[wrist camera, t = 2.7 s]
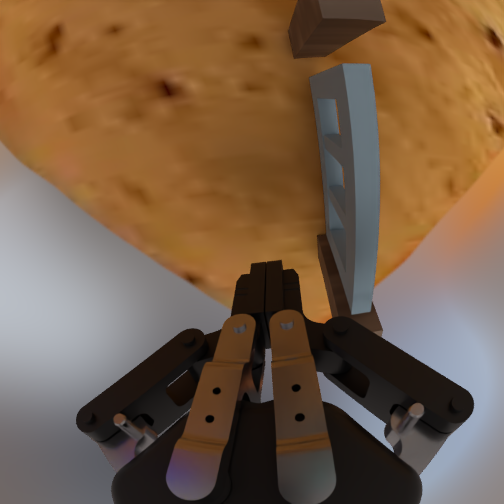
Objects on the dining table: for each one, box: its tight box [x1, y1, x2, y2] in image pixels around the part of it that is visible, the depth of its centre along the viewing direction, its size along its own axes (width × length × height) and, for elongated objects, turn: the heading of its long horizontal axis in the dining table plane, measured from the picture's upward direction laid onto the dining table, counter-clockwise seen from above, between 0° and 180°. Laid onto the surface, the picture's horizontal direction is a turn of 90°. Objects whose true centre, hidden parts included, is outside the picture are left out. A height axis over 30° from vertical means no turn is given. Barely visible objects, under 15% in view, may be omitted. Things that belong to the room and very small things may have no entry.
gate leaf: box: [309, 64, 380, 315], centre depth 16 cm, size 13×1×10 cm, turn 10°
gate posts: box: [288, 0, 386, 337], centre depth 16 cm, size 21×2×12 cm, turn 10°
